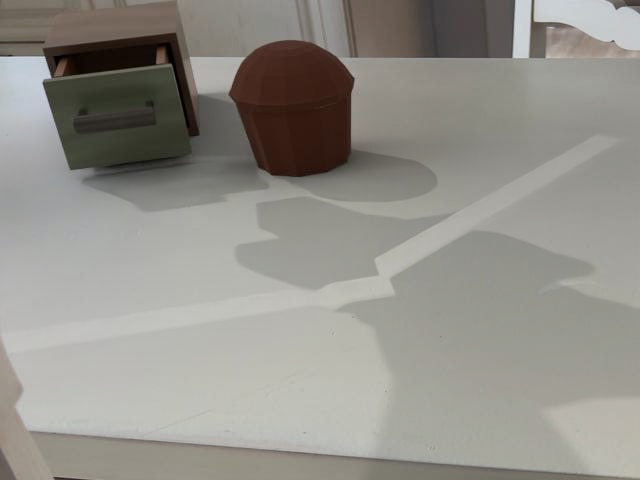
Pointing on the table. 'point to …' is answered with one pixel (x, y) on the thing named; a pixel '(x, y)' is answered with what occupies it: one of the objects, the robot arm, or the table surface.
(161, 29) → the cabinet
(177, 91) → the drawer
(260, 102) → the muffin
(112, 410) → the table surface
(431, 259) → the table surface
